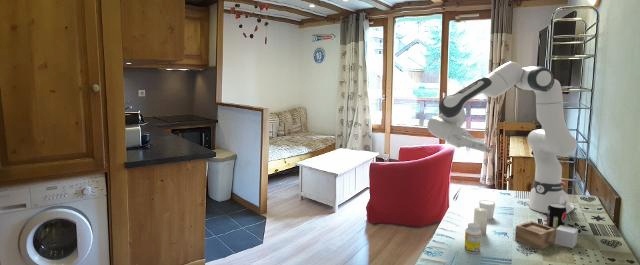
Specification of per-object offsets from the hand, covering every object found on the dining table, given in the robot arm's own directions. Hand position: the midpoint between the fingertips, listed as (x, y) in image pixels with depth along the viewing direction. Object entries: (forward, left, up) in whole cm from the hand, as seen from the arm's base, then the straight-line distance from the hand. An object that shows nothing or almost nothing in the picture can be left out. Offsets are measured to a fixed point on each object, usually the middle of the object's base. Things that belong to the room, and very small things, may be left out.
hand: (487, 150), depth 168 cm
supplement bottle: (+28, +16, -33) cm, 46 cm away
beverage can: (-16, +22, -33) cm, 43 cm away
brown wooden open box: (0, +23, -33) cm, 40 cm away
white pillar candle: (+11, +6, -33) cm, 35 cm away
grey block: (-9, +30, -33) cm, 46 cm away
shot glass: (-8, -5, -33) cm, 34 cm away
